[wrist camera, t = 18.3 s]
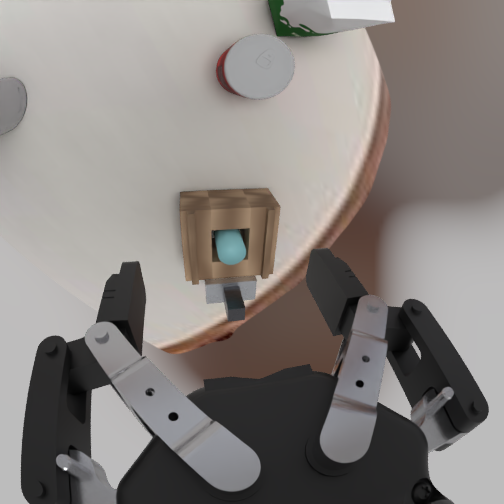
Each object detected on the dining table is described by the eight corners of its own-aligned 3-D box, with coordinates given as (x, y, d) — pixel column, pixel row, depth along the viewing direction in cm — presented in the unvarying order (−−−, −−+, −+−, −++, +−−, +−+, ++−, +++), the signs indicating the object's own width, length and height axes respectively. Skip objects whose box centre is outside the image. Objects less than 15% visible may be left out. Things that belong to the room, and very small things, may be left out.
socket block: (185, 255, 50) (186, 285, 44) (180, 192, 43) (179, 214, 37) (262, 250, 53) (274, 277, 46) (268, 188, 46) (282, 209, 40)
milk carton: (314, -11, 28) (394, -47, 12) (326, 38, 33) (414, 28, 17) (258, -9, 28) (313, -61, 12) (272, 43, 33) (337, 22, 17)
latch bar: (206, 298, 47) (209, 326, 42) (204, 280, 45) (208, 307, 40) (253, 294, 49) (261, 321, 44) (255, 275, 46) (264, 302, 41)
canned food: (276, 53, 34) (304, 46, 25) (260, 100, 38) (283, 108, 29) (224, 38, 31) (237, 24, 23) (209, 88, 35) (215, 90, 27)
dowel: (212, 234, 49) (218, 266, 42) (211, 213, 47) (217, 242, 39) (236, 232, 50) (246, 263, 42) (236, 211, 47) (246, 239, 40)
